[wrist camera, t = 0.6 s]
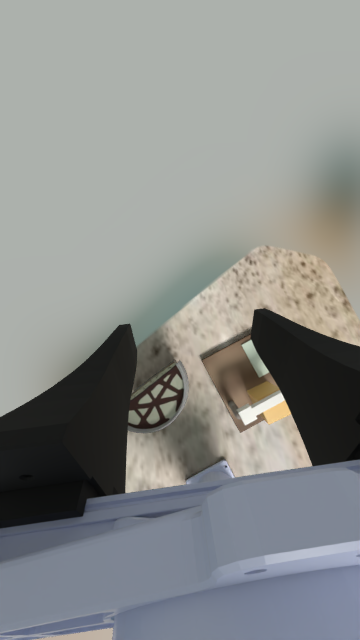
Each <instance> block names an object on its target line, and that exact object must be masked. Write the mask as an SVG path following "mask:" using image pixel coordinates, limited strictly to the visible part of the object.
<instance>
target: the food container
mask: <svg viewBox="0 0 360 640" xmlns="http://www.w3.org/2000/svg"><path fill="white" fill-rule="evenodd" d="M188 391H189V383H188V377H187V373H186V370H185V368H184V366H183V364H182V362H181V361H179V362H178V363H176V361H175V360H173V361H172V362H171V363H170V364H168V365H167V366H166V367H164V368H163V369H162V370H161V371H159V372H158V373H157V374H155V375H154V376H153V377H152V378H150V379H149V380H148V381H146V382H145V383H144V384H142V385H141V386H140V387H139V388H137V389H136V390H135V391H134V392H133V393H132V394H131V400H130V407H129V418H128V430H129V431H131V432H136V433H151V432H155V431H159V430H161V429H163V428H165V427H166V426H168V425H169V424H171V423H172V422H173V421H174V420H175V419H176V418H177V416H178V415H179V414H180V413H181V411H182V409H183V408H184V406H185V403H186V400H187V397H188Z"/></svg>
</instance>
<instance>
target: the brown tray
mask: <svg viewBox="0 0 360 640" xmlns="http://www.w3.org/2000/svg"><path fill="white" fill-rule="evenodd" d="M250 337H251V334H249V335H248V336H246V337H244V338H242V339H240V340H238V341H236V342H234V343H233V344H231V345H229V346H227V347H225V348H223V349H221V350H219V351H218V352H216V353H214V354H212V355H210V356H208V357H206V358H205V359H203V360H202V362H203V364H204V365H205V367H206V369H207V371H208V373H209V375H210V377H211V379H212V381H213V382H214V384H215V386H216V388H217V390H218V392H219V394H220V396H221V397H222V399H223V401H224V403H225V405H226V407H227V409H228V411H229V413H230V414H231V416H232V418H233V420H234V422H235V424H236V426H237V428H238V430H239V431H240V433H241V432H243V431H245V430H247V429H248V428H250V427H252V426H254V425H256V424H258V423H259V422H261V421H263V420H264V419H263V418H262V417H261V416H260V415H257V416H256V417H257V419H256V420H255V421H253V422H251V423H249V424H247V425H245V424H244V423H243V421H242V419H241V417H240V416H239V414H238V412H237V409H239V408H240V407H242V406H244V405H246V404H249V405H250V406H251V405H252V404H253V403H252V401H251V399H250V397H249V395H248V393H247V390H249V389H251V388H253V387H256V386H258V385H260V384H262V383H264V382H266V381H268V382H270V383H271V384H273V385H275V386H277V384H276V382H275V381H274V379H273V377H272V376H271V374H270V373H267V374H265V375H263V376H261V377H260V378H259V377H258V375H257V373H256V371H255V369H254V368H253V366H252V364H251V362H250V360H249V358H248V357H247V355H246V353H245V351H244V349H243V348H242V346H241V345H242V344H244V343H246V342H248V341H250V340H251V338H250ZM277 387H278V386H277Z"/></svg>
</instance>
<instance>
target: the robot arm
mask: <svg viewBox="0 0 360 640" xmlns="http://www.w3.org/2000/svg"><path fill="white" fill-rule="evenodd" d="M250 338H251V340H252V343H253V345H254V347H255V349H256V352H257V353H258V355H259V357H260V358H261V360H262V362H263V363H264V365H265V366H266V368H267V369H268V371H269V373H270V374H271V376H272V377H273V379H274V381H275V382H276V384H277V386H278V387H279V389H280V391H281V393H282V395H283V397H284V399H285V401H286V403H287V405H288V408H289V410H290V412H291V414H292V416H293V419H294V421H295V423H296V425H297V428H298V430H299V433H300V435H301V437H302V440H303V442H304V444H305V447H306V450H307V452H308V455H309V458H310V460H311V463H312V465H313V466H311V467H305V468H298V469H291V470H284V471H277V472H270V473H263V474H256V475H249V476H242V477H234V475H233V473H232V471H231V469H230V467H229V465H228V463H227V461H226V460H222V461H220V462H218V463H216V464H214V465H212V466H211V467H209V468H207V469H205V470H203V471H201V472H200V473H198V474H196V475H194V476H192V477H190V478H189V479H187V480H186V485H180V486H173V487H166V488H159V489H152V490H145V491H138V492H131V493H125V480H126V451H127V432H128V418H129V407H130V400H131V394H132V389H133V383H134V378H135V372H136V365H137V349H136V345H135V341H134V337H133V333H132V329H131V325H130V324H124V325H119V326H118V327H117V328H116V330H114V332H113V333H112V334H111V335H110V336H109V337H108V339H107V340H106V341H105V342H104V343H103V344H102V345H101V346H100V347H99V348H98V349H97V350H96V351H95V352H94V353H93V354H92V355H91V356H90V357H89V358H88V359H87V360H86V361H85V362H84V363H83V364H81V365H80V366H79V367H78V368H77V369H76V370H75V371H73V372H72V373H71V374H69V375H68V376H67V377H65V378H64V379H62V380H61V381H60V382H58V383H57V384H55V385H54V386H53V387H51V388H50V389H48V390H47V391H45V392H43V393H42V394H40V395H39V396H37V397H35V398H34V399H32V400H30V401H29V402H27V403H25V404H24V405H22V406H20V407H18V408H16V409H15V410H13V411H11V412H9V413H7V414H5V415H3V416H2V417H0V640H32V639H39V638H46V637H53V636H59V635H66V634H73V633H80V632H86V631H93V630H100V629H107V628H113V627H114V628H113V637H112V640H360V347H359V346H356V345H352V344H349V343H346V342H343V341H340V340H337V339H334V338H331V337H328V336H325V335H323V334H320V333H318V332H315V331H313V330H311V329H308V328H306V327H304V326H301V325H299V324H297V323H295V322H293V321H291V320H289V319H287V318H285V317H283V316H281V315H279V314H276V313H274V312H272V311H270V310H268V309H265V308H264V309H256V310H254V316H253V323H252V330H251V337H250ZM225 465H227V466H226V467H225Z"/></svg>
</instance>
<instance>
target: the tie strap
mask: <svg viewBox="0 0 360 640" xmlns="http://www.w3.org/2000/svg"><path fill="white" fill-rule="evenodd" d="M283 401H285V399H284V397H283V395H282V393H281V391H280V390H278V391H276V392H275V393H273V394H271V395H269V396H267V397H265V398H264V399H262V400H260V401H258V402H256V403H254V404H252V405H251V406H250V405H249V404H246V405H244V406H242V407H240V408H239V409H237V412H238V414H239V416H240V417H241V419H242V421H243V423H244V424H245V425H247V424H249V423H251V422H253V421H255V420H256V419H257V417H256V416H257V415H259V414H261V413H262V412H264V411H266V410H268V409H270V408H272V407H274V406H275V405H277V404H279V403H281V402H283Z"/></svg>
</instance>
